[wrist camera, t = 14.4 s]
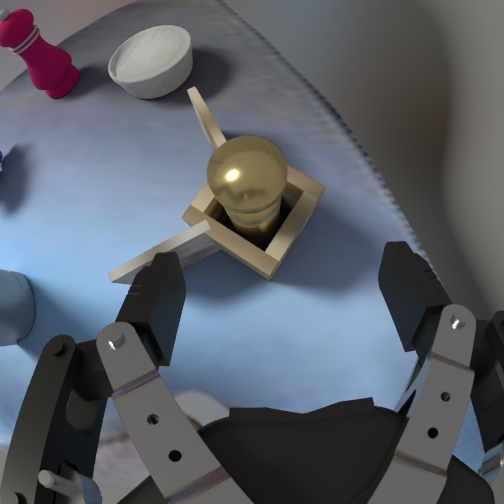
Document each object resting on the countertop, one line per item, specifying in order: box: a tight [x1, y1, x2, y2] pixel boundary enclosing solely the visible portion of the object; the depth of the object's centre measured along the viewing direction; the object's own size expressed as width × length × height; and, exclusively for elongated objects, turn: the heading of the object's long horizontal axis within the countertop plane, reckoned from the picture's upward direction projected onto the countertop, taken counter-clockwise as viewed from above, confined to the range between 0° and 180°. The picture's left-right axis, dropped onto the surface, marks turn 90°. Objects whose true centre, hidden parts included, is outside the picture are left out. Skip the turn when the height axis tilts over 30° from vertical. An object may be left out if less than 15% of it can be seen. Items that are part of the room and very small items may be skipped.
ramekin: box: [108, 25, 193, 99], centre depth 31 cm, size 11×11×5 cm
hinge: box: [108, 86, 326, 285], centre depth 26 cm, size 18×15×8 cm
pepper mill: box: [0, 9, 79, 99], centre depth 25 cm, size 7×7×20 cm
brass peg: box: [207, 136, 288, 248], centre depth 23 cm, size 4×4×14 cm
